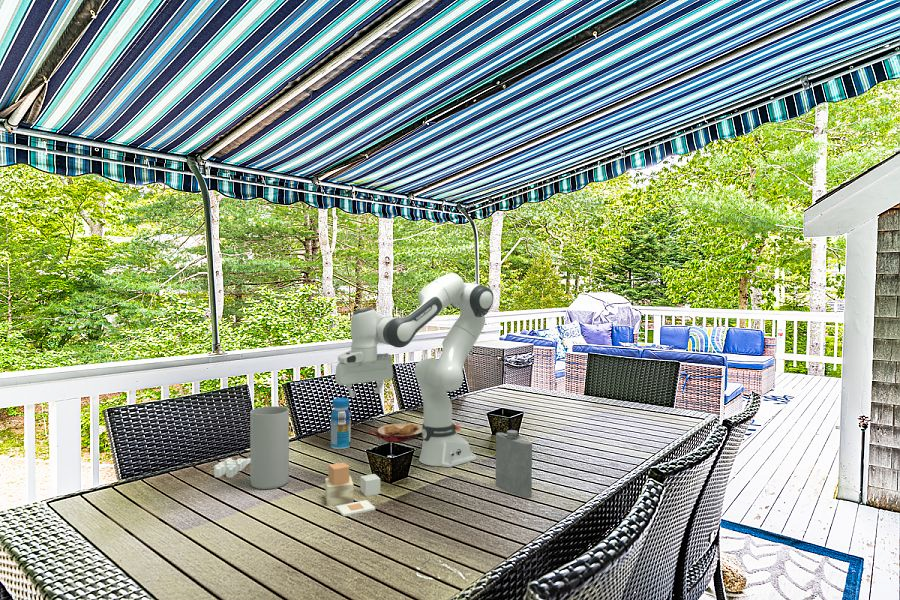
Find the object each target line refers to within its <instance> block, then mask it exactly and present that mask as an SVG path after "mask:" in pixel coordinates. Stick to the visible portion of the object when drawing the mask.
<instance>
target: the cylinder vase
mask: <svg viewBox="0 0 900 600" xmlns="http://www.w3.org/2000/svg"><path fill="white" fill-rule="evenodd" d="M249 414H250V416H249V417H250V422H249V423H250V424H249V425H250V429H249V431H250V434H249V435H250V436H249V439H250V440H249V441H250V442H249V443H250V445H249V446H250V451H249V453H250V454H249V455H250V457H249V458H250V463H249V464H250V475H249V476H250V485H251V487H253V488H255V489H259V490H272V489H277V488H281V487H283V486H285V485H287V484H288V482H289V480H290V409H289V408H288V407H285V406H263V407H257V408H254V409H251V410H250V413H249Z"/></svg>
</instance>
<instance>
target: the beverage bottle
mask: <svg viewBox="0 0 900 600" xmlns="http://www.w3.org/2000/svg"><path fill="white" fill-rule="evenodd" d="M349 407H350V400H349V398H347V397H336V398H333V399H332V408H333V410H332V412H331V414H330V418H331V419H330V448H331V449H334V450H344V449H348V448H350V447H351V445H352V443H351V430H352V429H351V426H352V419H351V416H352V414H351V411H350V410H349Z"/></svg>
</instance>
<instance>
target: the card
mask: <svg viewBox="0 0 900 600" xmlns="http://www.w3.org/2000/svg"><path fill="white" fill-rule="evenodd" d="M335 510H337V511H338V512H339V513H340V515H342V517H348V516H353V515H358V514H361V513H367V512H372V511H376V506H374V505H373V504H372V503H371V502H370V501H369V500H367V499H364V500H360V501H355V502H354V501H353V503H349V504H339V505H335Z"/></svg>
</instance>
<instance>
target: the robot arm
mask: <svg viewBox="0 0 900 600" xmlns="http://www.w3.org/2000/svg"><path fill="white" fill-rule="evenodd" d="M418 303H419V305H420V306H418V307H417V308H416V309H414V310H413V311H412V312H411V313H409V314H407V316H403V317H392V316H388V315H384V314H382V313H380V312H378V311H377V310H375V309H374V308H373V307H366V308H360V309H356V310H354V312H353V313H352V315H351V318H350V337H351V345H350V350H349V351H347V352H344V353H342V354H341V353H340V354H339V355H338V356H337V362H338V363H337V364H336V366H335V367H336V368H335V375H334V376H335V377H334V378H335V383H336V384H337V385H338V386H345V388H346V389H347V390H348V394H349V397H350V398H354V397H356V391H354V390H352V387H353V385H355V384H362V383H363V384H365V383H372V382H377V383H378V384H377V387H375V388H374V393H375V394H376V395H377V394H378V395H379V394H381V393H382V390H381V389H382V387H383V386H384V383H385V382H384V381H390V380H392V378H393V377H394V370H393V365H392V364H393V357H392V355H391V354H389V353H388V352H385V353H378V343H380V344H385V345H387V346H388V345H390V346H392V347H395V348H403V347H406V346H408V345H409V344H410V343H411V341H412V340H413V339H414V337H415V336H416V335H417V333H418V332H419V331H420V330H421V329H422V328H424V326H426V325H427V324H428V323H430V322H431V321H432V320H433V319H434V318H435V317H436V316H438V315H439V313H440V312H442V311H443V310H444V309H446V308H447V307H449V306H451V307H453V308H455V309H459V310H460V314H459V317H458V318H457V319H456V320H455V322H454V323H453V325H452V326H451V328H450V330H449V331H448V332H447V334H446V336H445V337H444V339H443V340H442V344H441V345H442V351H441V355H440V356H439V358H438V359H436V358H432V357H431V358H424V359H421V360H419V361H418V362H417V364H416V365H415V367H414V376H415V378H416V379H417V382H418V384H419V389H420V394H421V398H422V404H423V423H422V425H423V426H422V433H421V436H422V443H421V444H422V446H421V452H420V455H419V459H418V461H419V462H420V463H422V464H424V465H426V466H427V465H428V466H432V467H444V468H451V467H455V466H459V465H463V464H465V463H466V464H467V463H469V462H472V461H476V460H477V456H476V454H475V453H473V452H472V450H471V446H470V444H469V442H468V440H466V439H465V438H463V436H461V435H460V434H458V433H457V432H456V431H459V432H460V431H461V429H462V427H461V425H459V424H454V423H453V404H452V403H453V402H452V401H451V399H450V397H449V395H448V392H455V391H457V390H459V388H461V386H462V385H463V382H464V373H463V370H464V369H463V368H464V365H465V361H466V359H467V357H468V355H469V354H470V352H471V350H472V348H473V346H475V344H476V342H477V340H478V339H479V337H480V335H481V333H482V331H483V329H484V326H485V323H486V317H485V316H487V314H488V313H489V311H490V310H491V308H492V307H493V304H494V293H493V290H492V289H491V288H490V287H488V286H485V285H483V284H478V283H473V282H464V280H463V278H462V277H461V276H460V275H459V274H457V273H454V272H449V273H447V274H444V275H442V276H439V277H437V278H436V279H433V280H432V281H431V282H429V283H428V284H427V285H425V286H423V288H422V289H421V290H420V291H419V293H418Z"/></svg>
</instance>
